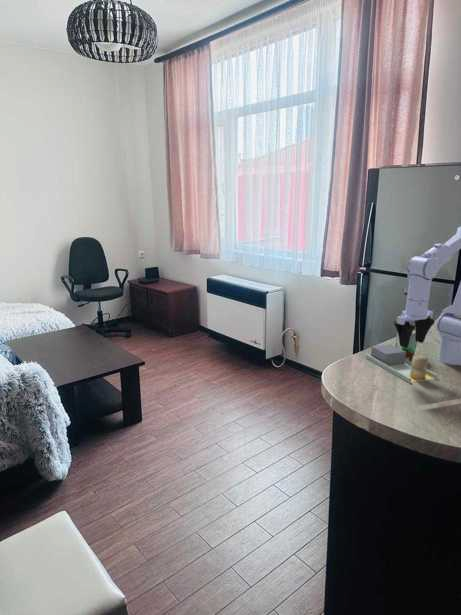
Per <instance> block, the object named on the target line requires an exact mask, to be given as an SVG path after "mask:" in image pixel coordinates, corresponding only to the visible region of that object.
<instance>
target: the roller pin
mask: <svg viewBox="0 0 461 615" xmlns="http://www.w3.org/2000/svg"><path fill="white" fill-rule="evenodd" d="M428 359H429V358H428V357H426V356H425V355H419V354H418V355H416V354H414V356H413V358H412V359H411V361H412V366H411V373H410V377H411V378H413V379H416V380H424V379H425V375H426V369H427V370H428V368H427V367H428Z"/></svg>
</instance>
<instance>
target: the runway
mask: <svg viewBox="0 0 461 615" xmlns="http://www.w3.org/2000/svg"><path fill="white" fill-rule="evenodd" d="M364 358H366V360H368V361H370V362H371V363H374V364H375V365H377V366H379V367H381V368H382V369H384V370H385V371H387V372H389V373H391V374H393V375H394V376H396V377H397V378H399V379H401V380H403V381H405V382H407V383H408V384H411V383H419V382H425V381H431V380H437V379H438V374H437V373H435V372H433V371H431V370H429V369H428V368H427V369H426V375H425V379H424V380H416V379H413V378H411V377H410V373H411V366H412V360H411V359H406V358H405V364H399V365H391V366H388V365H386V364H384V363H383V362H381V361H379V360H377V359H375V358H374V357H372V356H371V354H368V353H366V354H365V357H364Z"/></svg>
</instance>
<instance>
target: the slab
mask: <svg viewBox="0 0 461 615" xmlns="http://www.w3.org/2000/svg"><path fill="white" fill-rule="evenodd" d="M370 351H371V352H370V356H372V357H374V358H375V359H377V360H379V361H381V362H383V363H384V364H386V365H388V366H391V365H399V364H405V356H406V351H404V350H402V349H399V348H397V347H395V345H393V344H383V345H382V344H380V345H374V346H373V345H372V346H371V350H370Z"/></svg>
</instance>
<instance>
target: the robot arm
mask: <svg viewBox="0 0 461 615" xmlns="http://www.w3.org/2000/svg"><path fill="white" fill-rule="evenodd" d="M459 250H461V226H459V227H457V229H456V233H455V234H454V235H453V236H452V237H451V238H449V239H448V240H447V241H446V242H445V243H435V244H434V246H433V247H431V248H430V249H428V250H427V251H425V252H424V253H423V254H422V255H420V256H417V255H416V256H413V257H412V258H410V259H409V261H408V263H407V265H406V266H405V271H406V274H407V279H406V280H407V281H408V287H407V294H406V295H407V296H406V303H405V309H404V310H402V311H401V315H399V316H397V317H396V320H395V321H394V324H393V325H394V327H395V329H396V333H397V332H398V336H399V342H400V346H403V347H405V348H407V347H408V345H409V341H410V337H411V334H412V332H413V330H414V328H415V327H416V334H415V339H416V341H417V343H419V344H420V343H421V344H423V343H424V341H425V339H426V337H427V335H428V332H429V330H430V329H431V328H432V326H434V324H436V330H437V331H438V334H439V336H440V341H439V348H438V354H437V361H438V362H441V363H443V364H446V365H450V366H460V367H461V281H460V282H459V285H458V288H457V292H456V295H455V297H454V299H453V303H452V304H451V305H450V306H448V307H444V308H443V309H442V312H441V314H440V316H439V317H438V318H437V320H436V323H435V319H432V318H434V316H433V315H434V311H432V310H429V301H430V293H431V287H432V281H433V279H434V278H436V276H437V274H438V273H439V270H441V268H442V266H443V265H445V264H447V263H448V262H449V261H450V260H452V258H453V254H454V253H455V252H457V251H459ZM412 322H414V325H412V324H411V323H412Z"/></svg>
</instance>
